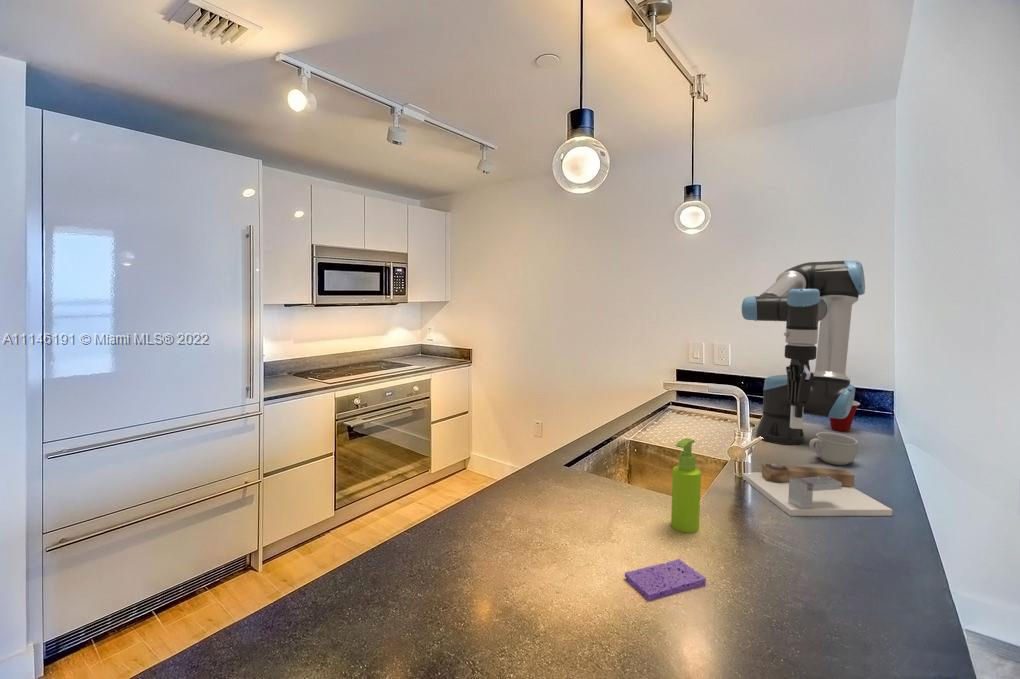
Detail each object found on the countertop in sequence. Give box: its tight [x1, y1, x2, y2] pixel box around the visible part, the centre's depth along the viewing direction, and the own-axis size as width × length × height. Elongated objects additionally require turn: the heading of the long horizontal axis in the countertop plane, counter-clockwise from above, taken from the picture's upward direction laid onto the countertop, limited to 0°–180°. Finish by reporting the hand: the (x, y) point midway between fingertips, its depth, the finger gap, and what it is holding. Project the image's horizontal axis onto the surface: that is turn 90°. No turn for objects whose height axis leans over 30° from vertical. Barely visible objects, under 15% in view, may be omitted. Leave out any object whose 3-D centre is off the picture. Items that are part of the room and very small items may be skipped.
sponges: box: [624, 558, 707, 602], centre depth 85 cm, size 7×13×2 cm, turn 111°
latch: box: [761, 462, 855, 488], centre depth 127 cm, size 21×6×4 cm, turn 78°
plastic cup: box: [829, 400, 861, 433], centre depth 181 cm, size 11×11×12 cm
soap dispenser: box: [670, 437, 702, 534], centre depth 104 cm, size 6×7×20 cm
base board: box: [742, 471, 893, 517], centre depth 122 cm, size 24×24×2 cm
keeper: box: [788, 476, 842, 509], centre depth 113 cm, size 4×10×7 cm, turn 98°
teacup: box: [808, 431, 859, 466], centre depth 146 cm, size 14×11×8 cm
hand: (796, 427), depth 131 cm, fingers closed
